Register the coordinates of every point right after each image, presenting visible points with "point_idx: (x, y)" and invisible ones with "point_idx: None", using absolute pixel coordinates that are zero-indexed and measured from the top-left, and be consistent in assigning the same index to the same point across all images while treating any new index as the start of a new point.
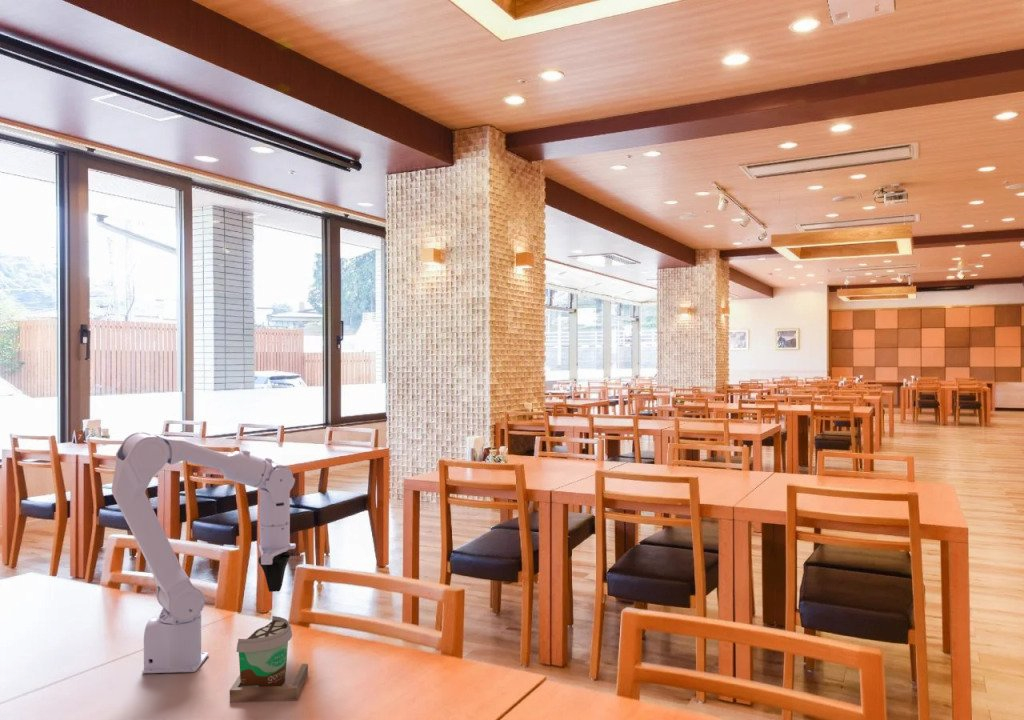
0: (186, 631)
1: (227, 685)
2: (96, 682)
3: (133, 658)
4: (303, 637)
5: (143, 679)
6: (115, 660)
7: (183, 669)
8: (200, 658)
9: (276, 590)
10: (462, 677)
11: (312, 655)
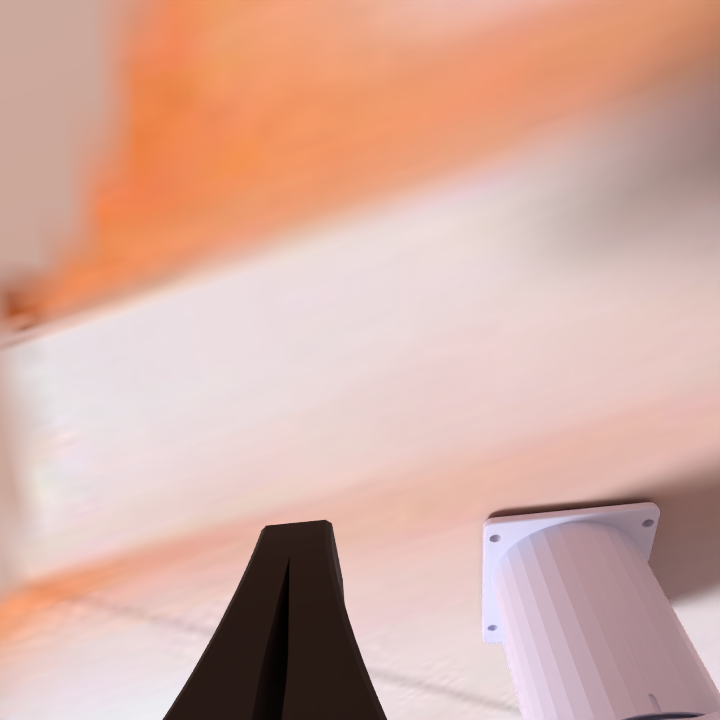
0: (712, 682)
1: None
2: None
3: (487, 676)
4: (227, 179)
5: None
6: (498, 701)
7: (649, 540)
8: (572, 529)
9: (334, 546)
10: None
11: (531, 12)
